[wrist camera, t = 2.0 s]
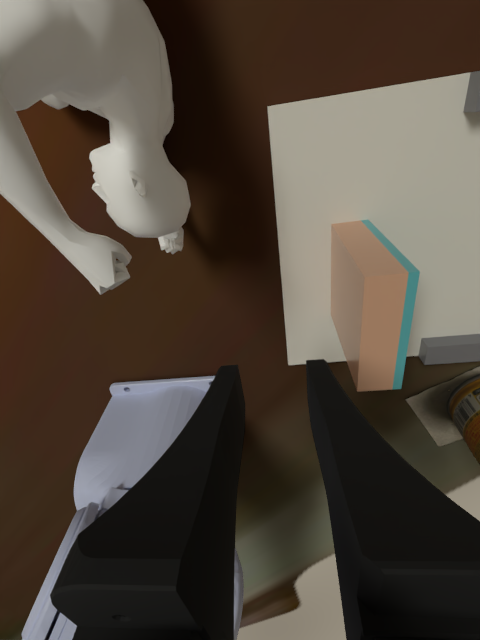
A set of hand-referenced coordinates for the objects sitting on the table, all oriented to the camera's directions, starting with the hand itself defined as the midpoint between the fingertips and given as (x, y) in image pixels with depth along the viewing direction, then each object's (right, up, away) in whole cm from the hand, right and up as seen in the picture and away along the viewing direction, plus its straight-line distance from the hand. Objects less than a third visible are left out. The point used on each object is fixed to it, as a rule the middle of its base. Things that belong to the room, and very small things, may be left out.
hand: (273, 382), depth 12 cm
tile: (+5, +5, +8) cm, 11 cm away
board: (+10, +7, +7) cm, 14 cm away
